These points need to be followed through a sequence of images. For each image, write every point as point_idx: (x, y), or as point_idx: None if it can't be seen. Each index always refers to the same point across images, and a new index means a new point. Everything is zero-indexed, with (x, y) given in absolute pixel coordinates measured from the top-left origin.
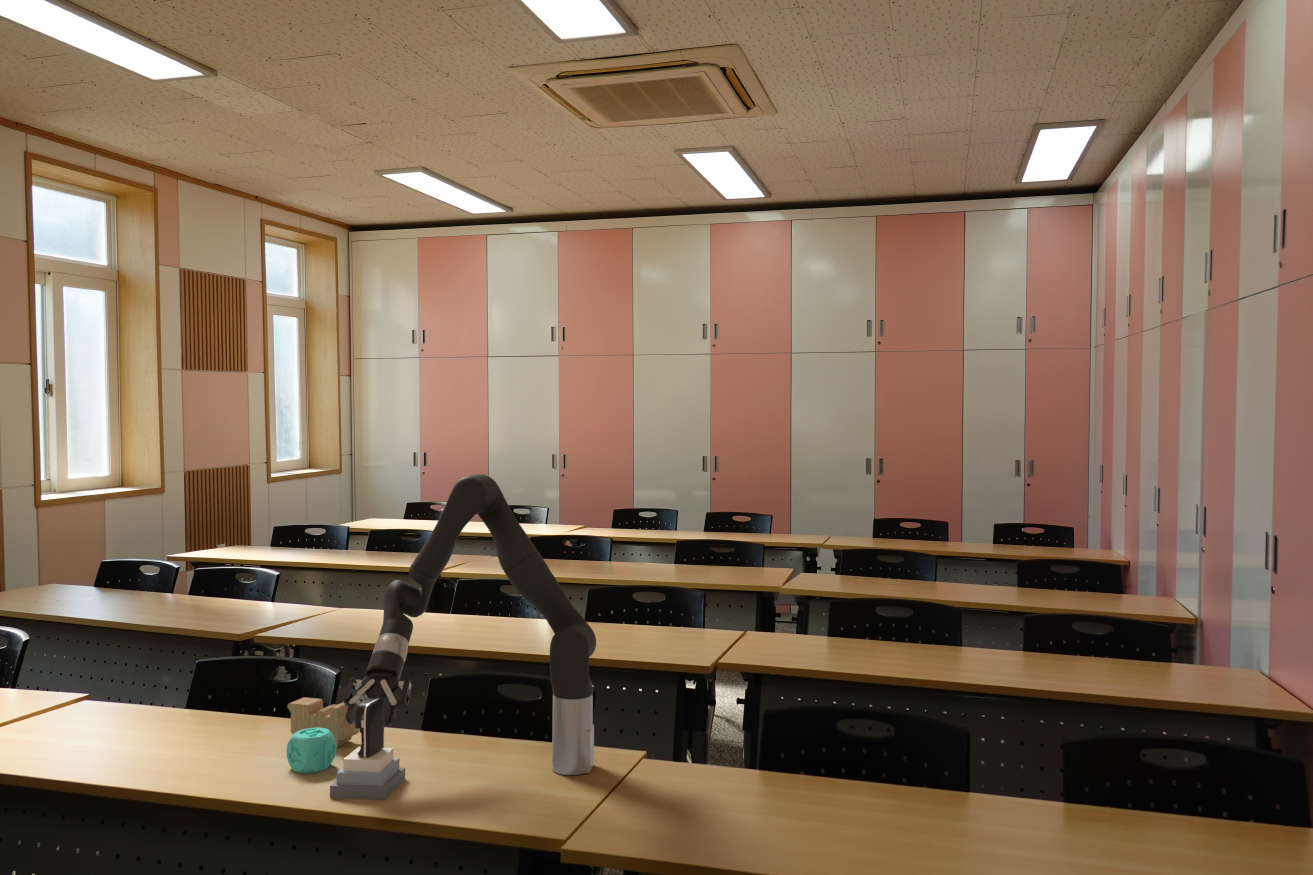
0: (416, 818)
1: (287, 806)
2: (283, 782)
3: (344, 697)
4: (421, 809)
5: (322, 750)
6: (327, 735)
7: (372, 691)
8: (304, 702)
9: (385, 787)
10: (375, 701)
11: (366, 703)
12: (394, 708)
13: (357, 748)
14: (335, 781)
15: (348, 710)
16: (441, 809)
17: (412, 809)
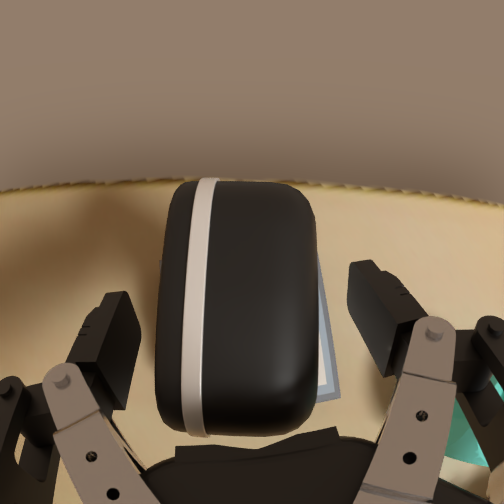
0: (75, 197)
1: (365, 189)
2: (458, 306)
3: (501, 329)
4: (76, 237)
5: (455, 412)
6: (471, 432)
7: (309, 472)
8: None
9: (160, 263)
10: (169, 287)
11: (230, 218)
12: (71, 362)
13: (319, 365)
14: (319, 273)
15: (408, 302)
16: (44, 247)
17: (92, 233)
